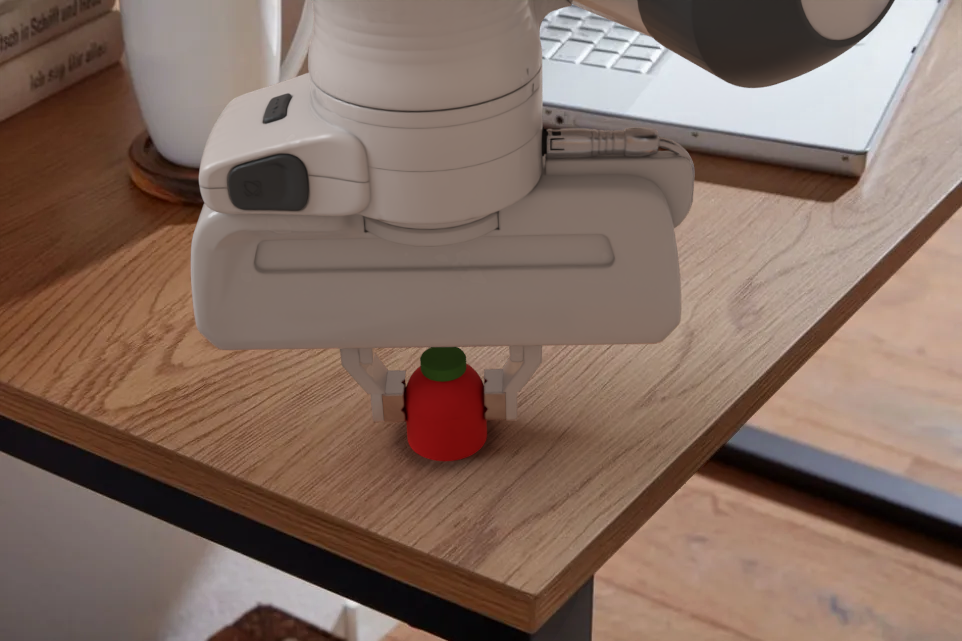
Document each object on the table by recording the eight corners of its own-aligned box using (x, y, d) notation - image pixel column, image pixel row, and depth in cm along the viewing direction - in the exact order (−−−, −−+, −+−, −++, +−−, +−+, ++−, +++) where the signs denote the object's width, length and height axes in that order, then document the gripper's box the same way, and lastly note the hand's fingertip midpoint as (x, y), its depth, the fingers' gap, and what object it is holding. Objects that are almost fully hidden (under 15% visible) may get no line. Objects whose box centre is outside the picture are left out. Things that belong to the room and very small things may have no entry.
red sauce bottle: (487, 418, 62) (485, 333, 59) (486, 468, 59) (483, 381, 56) (410, 419, 62) (404, 334, 60) (405, 469, 59) (399, 382, 57)
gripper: (688, 93, 54) (671, 368, 62) (189, 103, 55) (233, 374, 63) (707, 165, 49) (686, 455, 57) (155, 175, 50) (208, 461, 57)
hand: (445, 413), depth 60 cm, fingers closed on red sauce bottle, 3 cm apart
